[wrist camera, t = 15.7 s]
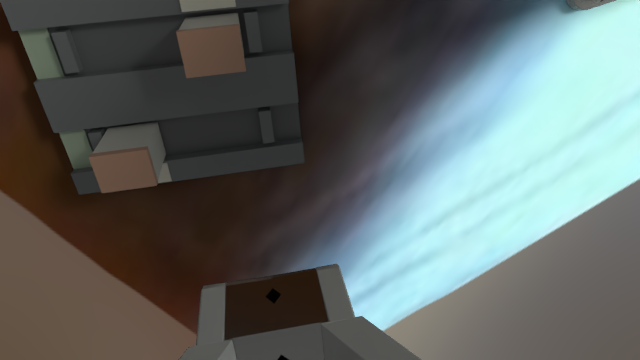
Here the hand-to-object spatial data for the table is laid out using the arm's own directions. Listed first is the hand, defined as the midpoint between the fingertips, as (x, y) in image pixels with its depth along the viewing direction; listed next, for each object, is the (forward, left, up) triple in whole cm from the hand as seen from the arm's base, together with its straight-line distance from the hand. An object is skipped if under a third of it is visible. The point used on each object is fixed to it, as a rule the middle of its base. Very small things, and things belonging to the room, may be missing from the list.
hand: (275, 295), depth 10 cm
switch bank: (+6, +4, -31) cm, 32 cm away
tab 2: (+2, 0, -29) cm, 29 cm away
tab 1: (+11, +8, -29) cm, 32 cm away
